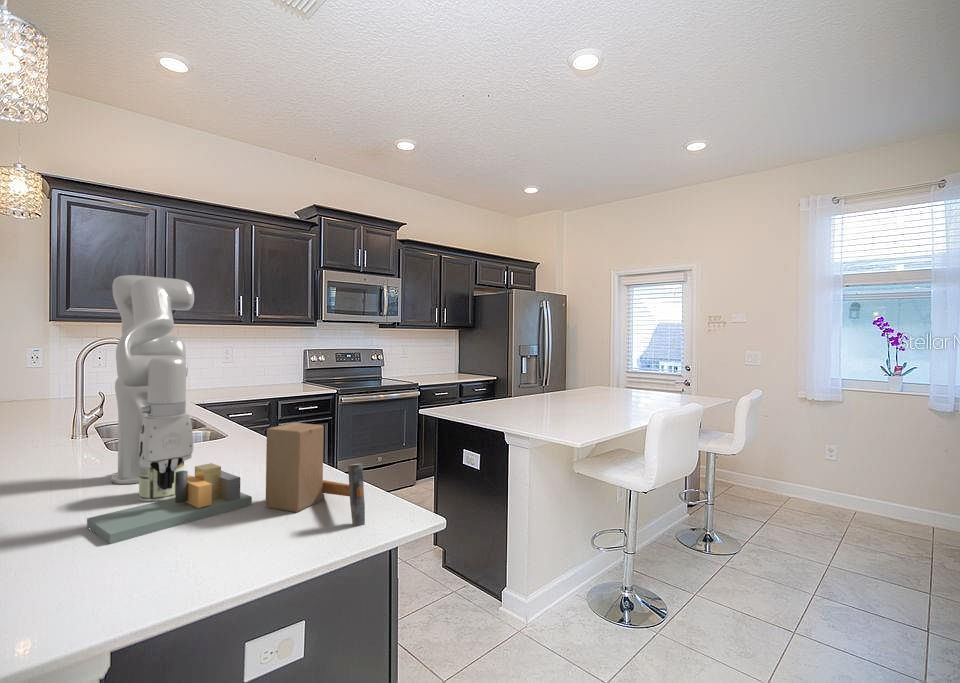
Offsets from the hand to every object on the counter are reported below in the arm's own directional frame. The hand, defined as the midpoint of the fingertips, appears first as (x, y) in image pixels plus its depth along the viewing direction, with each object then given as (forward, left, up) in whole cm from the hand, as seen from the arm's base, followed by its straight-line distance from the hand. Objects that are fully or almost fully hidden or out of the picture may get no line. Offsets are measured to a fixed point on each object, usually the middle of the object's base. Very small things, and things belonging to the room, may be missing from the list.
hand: (165, 487), depth 113 cm
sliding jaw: (0, +5, -5) cm, 7 cm away
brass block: (0, +10, -5) cm, 11 cm away
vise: (0, +2, -7) cm, 7 cm away
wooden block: (+15, +24, -7) cm, 29 cm away
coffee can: (-18, +6, -7) cm, 20 cm away
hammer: (+25, +30, -8) cm, 39 cm away
